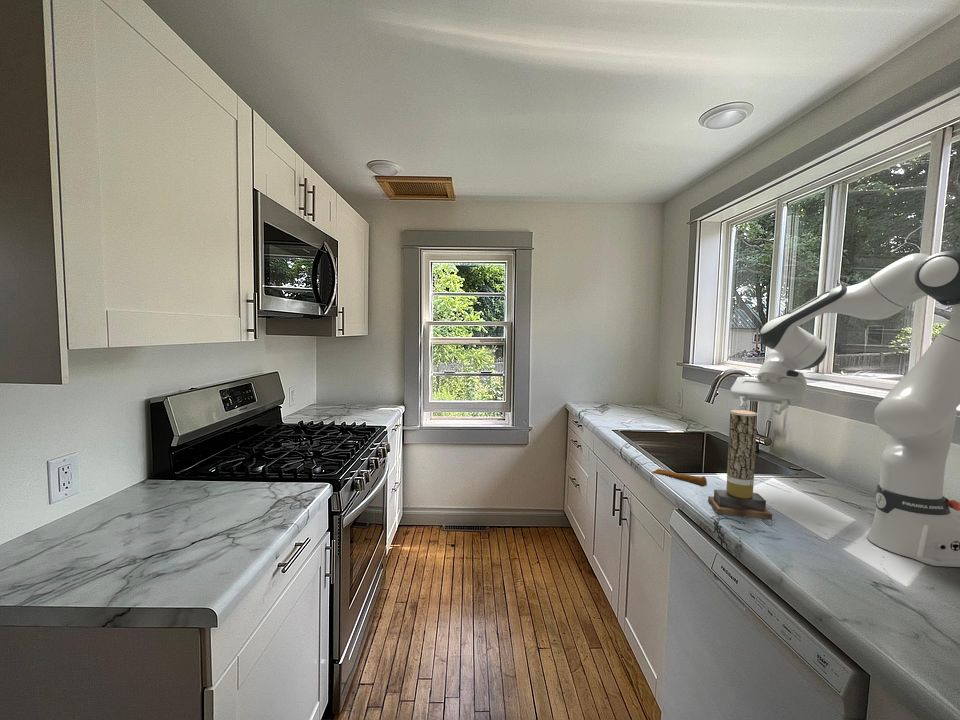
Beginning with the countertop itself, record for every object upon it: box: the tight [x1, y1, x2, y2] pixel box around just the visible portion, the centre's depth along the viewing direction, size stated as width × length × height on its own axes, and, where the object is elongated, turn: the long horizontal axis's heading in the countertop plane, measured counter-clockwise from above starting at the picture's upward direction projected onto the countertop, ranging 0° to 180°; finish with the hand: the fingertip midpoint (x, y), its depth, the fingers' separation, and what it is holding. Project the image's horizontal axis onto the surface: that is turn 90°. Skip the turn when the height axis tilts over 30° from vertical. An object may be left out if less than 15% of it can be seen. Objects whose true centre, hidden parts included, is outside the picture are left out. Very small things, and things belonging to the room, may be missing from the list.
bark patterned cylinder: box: [726, 409, 758, 499], centre depth 127 cm, size 7×7×25 cm
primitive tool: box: [651, 468, 708, 487], centre depth 157 cm, size 19×6×4 cm, turn 39°
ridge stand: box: [707, 489, 773, 520], centre depth 128 cm, size 14×10×4 cm
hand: (759, 410), depth 133 cm, fingers open, 8 cm apart
